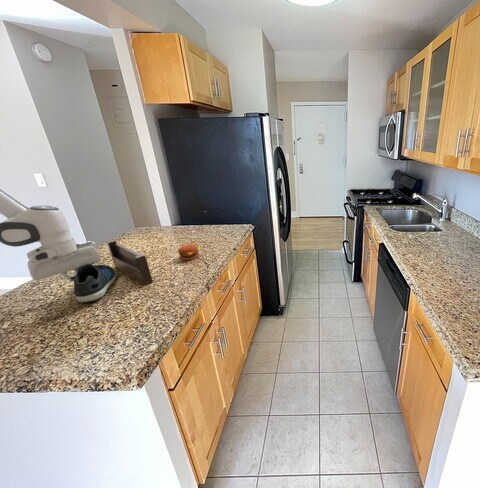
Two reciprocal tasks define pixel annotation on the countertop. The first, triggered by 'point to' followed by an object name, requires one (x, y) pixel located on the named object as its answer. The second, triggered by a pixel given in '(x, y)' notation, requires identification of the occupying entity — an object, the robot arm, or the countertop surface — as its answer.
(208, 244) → the countertop surface
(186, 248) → the hamburger
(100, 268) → the water shoe
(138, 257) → the dark brown channel tray
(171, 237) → the countertop surface
